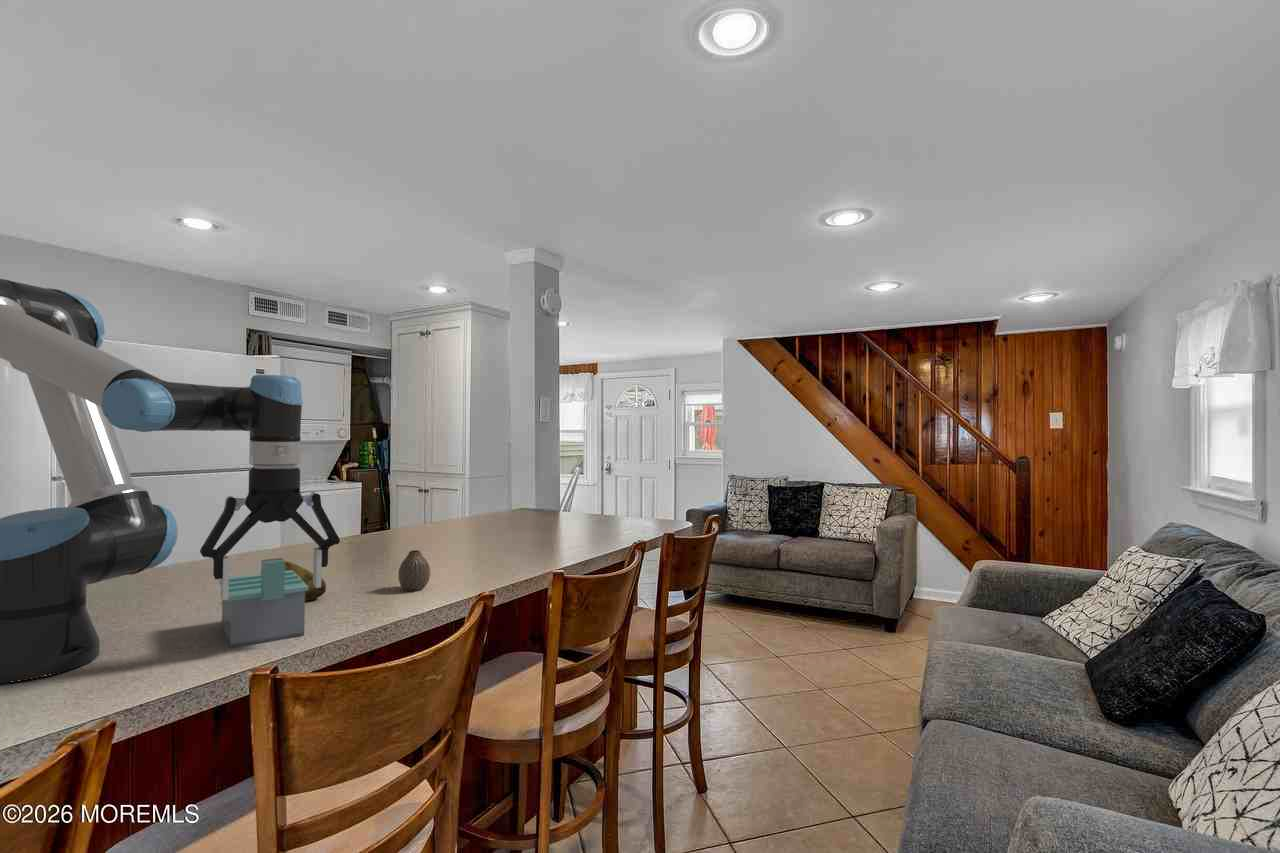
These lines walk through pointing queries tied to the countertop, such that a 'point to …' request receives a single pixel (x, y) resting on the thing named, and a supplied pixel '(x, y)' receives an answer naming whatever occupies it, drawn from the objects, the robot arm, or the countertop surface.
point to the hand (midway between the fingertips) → (272, 592)
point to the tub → (263, 619)
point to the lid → (266, 582)
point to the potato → (307, 581)
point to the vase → (414, 572)
